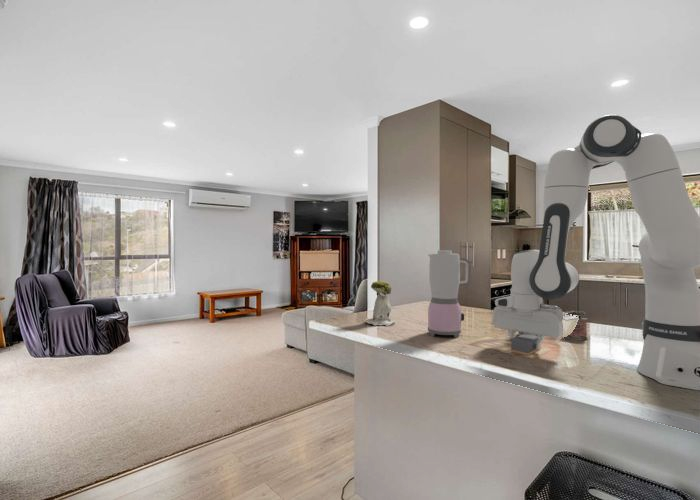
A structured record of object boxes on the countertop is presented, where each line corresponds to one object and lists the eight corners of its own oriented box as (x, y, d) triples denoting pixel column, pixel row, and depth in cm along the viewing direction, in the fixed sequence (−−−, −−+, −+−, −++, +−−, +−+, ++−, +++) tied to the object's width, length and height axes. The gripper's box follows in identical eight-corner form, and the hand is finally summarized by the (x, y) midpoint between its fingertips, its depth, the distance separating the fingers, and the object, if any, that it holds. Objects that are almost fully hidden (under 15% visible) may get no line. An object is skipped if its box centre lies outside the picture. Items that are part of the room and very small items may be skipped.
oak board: (551, 354, 116) (552, 349, 116) (533, 364, 106) (533, 358, 106) (485, 340, 132) (485, 336, 132) (464, 348, 123) (464, 343, 123)
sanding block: (540, 349, 116) (540, 336, 116) (528, 355, 110) (528, 341, 110) (524, 346, 120) (524, 333, 119) (511, 351, 114) (511, 338, 113)
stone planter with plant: (364, 320, 167) (364, 279, 167) (393, 320, 167) (393, 279, 167) (365, 326, 155) (365, 282, 155) (396, 326, 155) (396, 282, 155)
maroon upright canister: (563, 339, 134) (564, 311, 134) (560, 336, 138) (561, 309, 138) (588, 340, 132) (589, 312, 132) (585, 338, 136) (585, 310, 136)
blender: (428, 337, 136) (428, 250, 136) (426, 330, 148) (426, 250, 148) (472, 339, 134) (473, 250, 133) (467, 331, 146) (467, 250, 145)
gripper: (566, 305, 109) (566, 352, 109) (499, 297, 124) (499, 338, 124) (559, 307, 105) (558, 356, 105) (490, 299, 120) (489, 342, 120)
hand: (525, 346), depth 115 cm, fingers open, 5 cm apart
